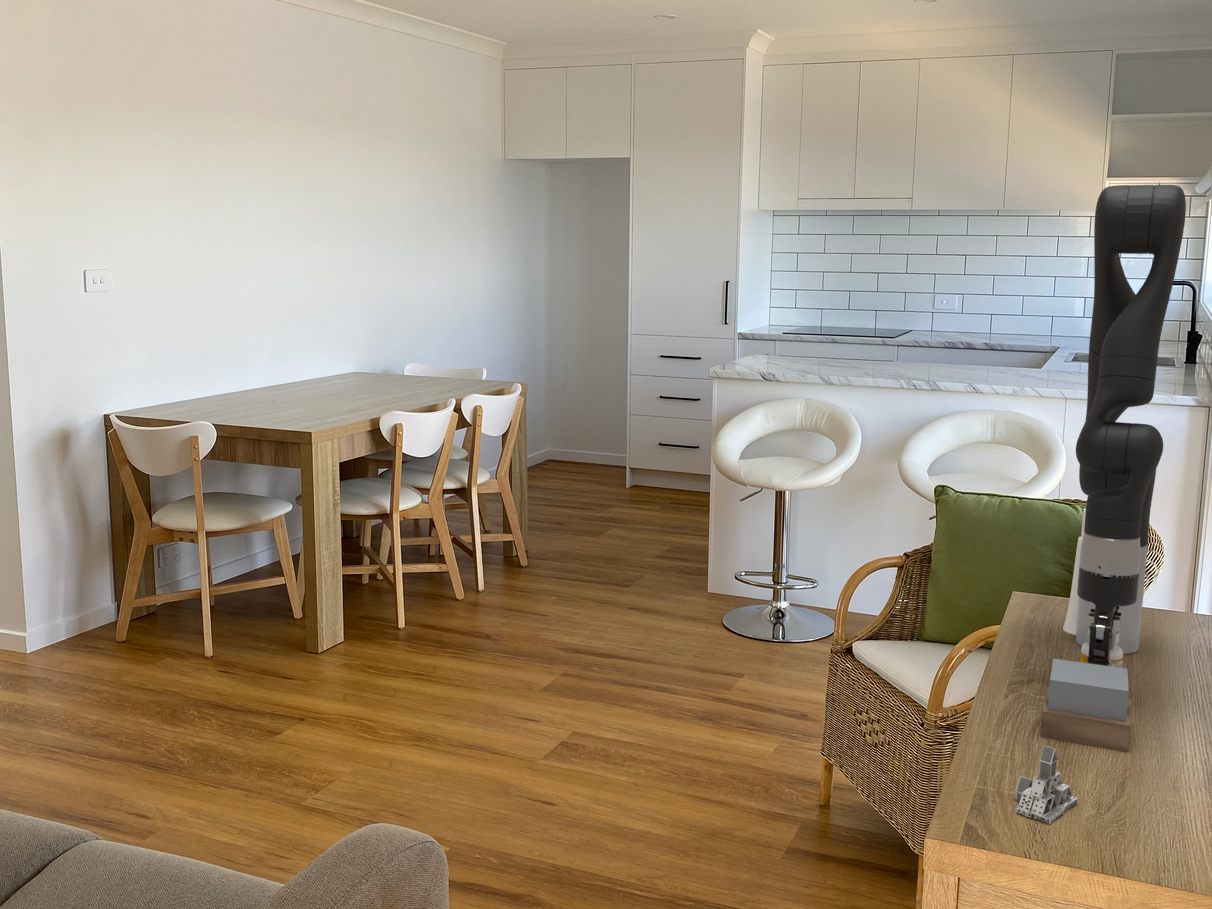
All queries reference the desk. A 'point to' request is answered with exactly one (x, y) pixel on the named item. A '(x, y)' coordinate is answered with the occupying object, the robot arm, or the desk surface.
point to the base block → (1086, 728)
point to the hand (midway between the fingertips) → (1099, 683)
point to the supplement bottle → (1115, 654)
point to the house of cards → (1044, 791)
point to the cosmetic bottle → (1074, 589)
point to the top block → (1089, 690)
